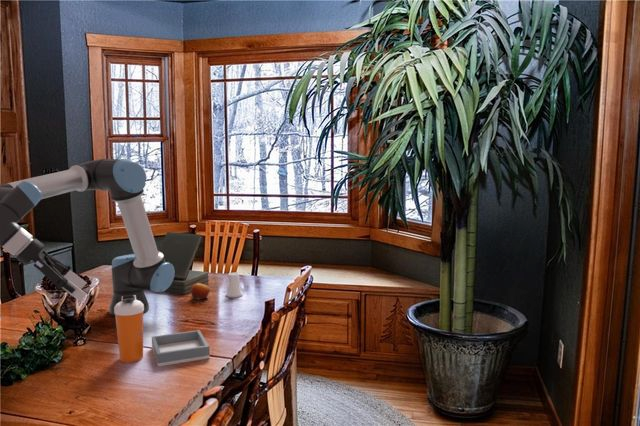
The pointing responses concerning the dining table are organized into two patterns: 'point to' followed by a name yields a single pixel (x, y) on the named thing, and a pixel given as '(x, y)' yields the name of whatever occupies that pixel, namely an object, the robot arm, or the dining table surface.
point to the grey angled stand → (182, 261)
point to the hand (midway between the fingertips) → (83, 291)
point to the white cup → (234, 286)
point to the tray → (180, 348)
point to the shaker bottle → (129, 328)
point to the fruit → (200, 291)
